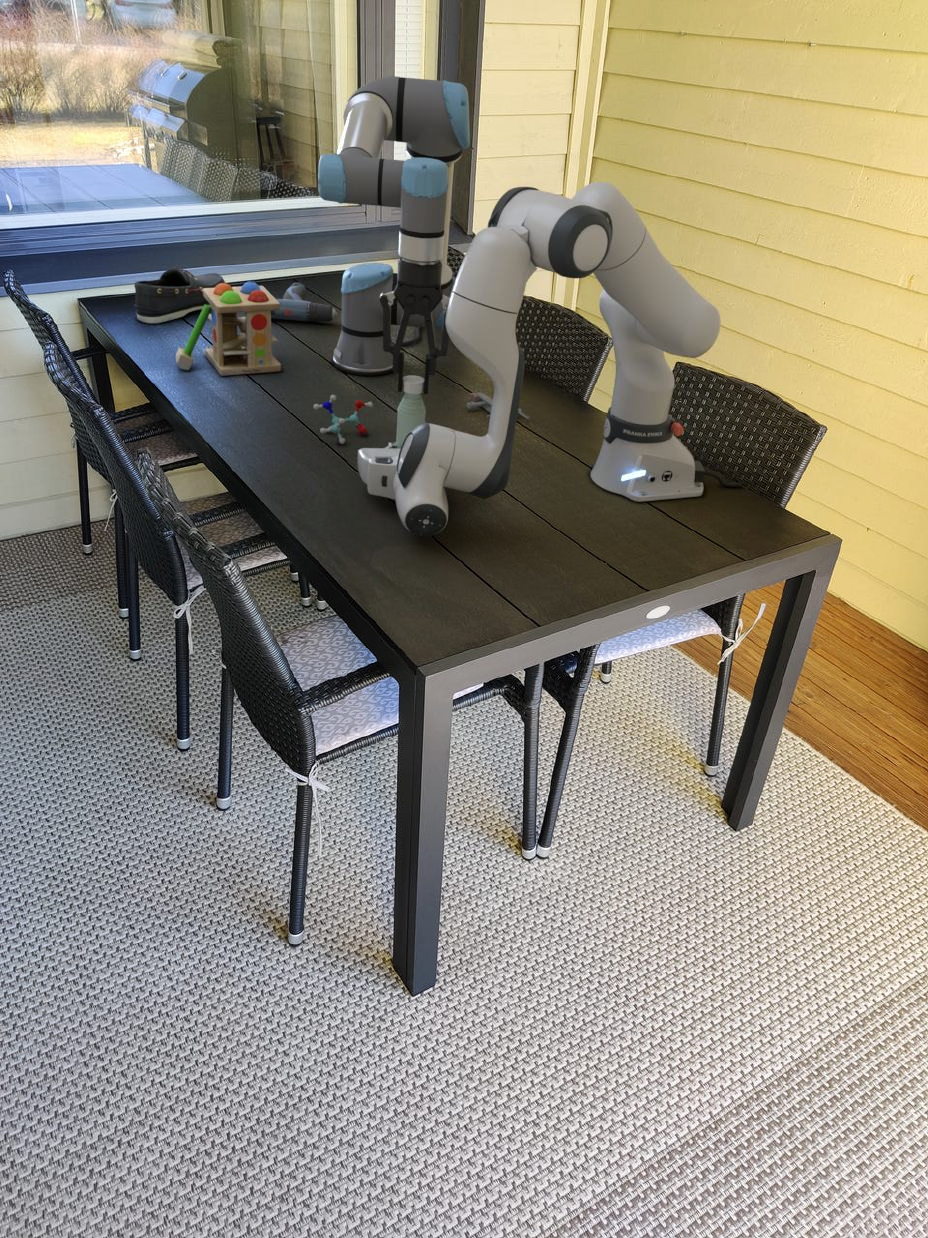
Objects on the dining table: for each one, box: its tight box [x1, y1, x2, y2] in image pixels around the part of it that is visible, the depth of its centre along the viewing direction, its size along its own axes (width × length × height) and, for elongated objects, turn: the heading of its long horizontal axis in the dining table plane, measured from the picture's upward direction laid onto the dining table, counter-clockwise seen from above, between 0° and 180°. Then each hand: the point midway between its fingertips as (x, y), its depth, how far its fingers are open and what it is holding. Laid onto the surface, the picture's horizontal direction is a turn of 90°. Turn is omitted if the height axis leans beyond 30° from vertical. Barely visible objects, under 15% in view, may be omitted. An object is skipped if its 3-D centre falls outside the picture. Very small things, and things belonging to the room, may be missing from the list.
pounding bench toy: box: [174, 281, 282, 377], centre depth 225 cm, size 23×14×18 cm, turn 116°
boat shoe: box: [133, 267, 226, 324], centre depth 260 cm, size 13×33×10 cm, turn 147°
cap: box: [402, 374, 425, 395], centre depth 179 cm, size 4×4×2 cm
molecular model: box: [312, 394, 374, 445], centre depth 201 cm, size 12×10×10 cm
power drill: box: [271, 282, 338, 322], centre depth 265 cm, size 5×19×20 cm
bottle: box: [395, 392, 427, 449], centre depth 184 cm, size 5×5×19 cm
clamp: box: [466, 391, 531, 421], centre depth 219 cm, size 15×2×10 cm
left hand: (413, 390), depth 180 cm, fingers closed on cap, 4 cm apart
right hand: (408, 446), depth 187 cm, fingers closed on bottle, 5 cm apart
